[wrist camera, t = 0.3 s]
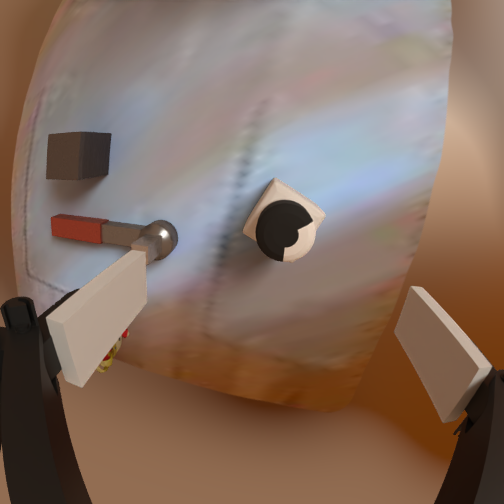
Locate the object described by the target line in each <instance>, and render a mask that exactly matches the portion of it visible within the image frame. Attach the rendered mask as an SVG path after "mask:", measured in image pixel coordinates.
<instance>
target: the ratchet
mask: <svg viewBox="0 0 504 504" xmlns="http://www.w3.org/2000/svg"><path fill="white" fill-rule="evenodd" d="M51 229H52V236H58V237H64V238H69V239H75V240H81V241H87V242H93V243H98V244H101V243H103V242H104V243H110V244H116V245H123V246H129V247H131V250H136V251H143V252H146V264H147V265H148V264H149V263H151V262H152V261H153V260H161V259H164V258H165V257H166V256H168V255H169V254H170V253H171V252H172V251H173V250H174V249H175V247H176V245H177V243H178V234H177V231H176V229H175V227H174V226H173V225H172V224H171V223H169V222H167V221H165V220H157V221H154V222H152V223H151V224H149V225H147V226H144V225H137V224H129V223H121V222H113V221H109V220H107V219H99V218H91V217H83V216H74V215H66V214H58V215H56V216H53V217H51Z"/></svg>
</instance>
